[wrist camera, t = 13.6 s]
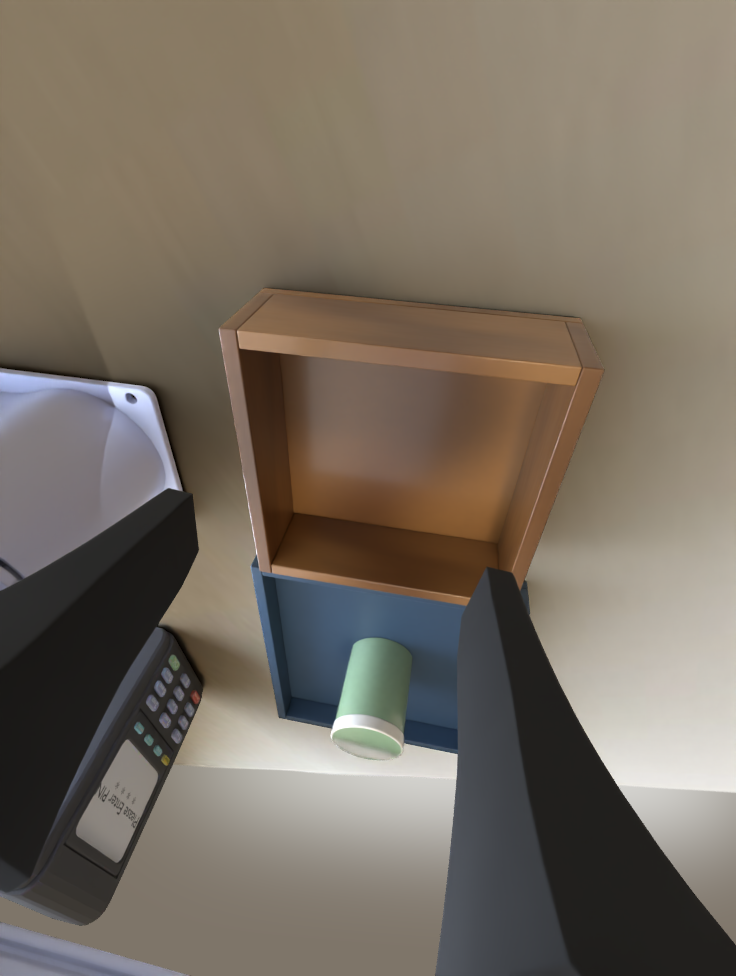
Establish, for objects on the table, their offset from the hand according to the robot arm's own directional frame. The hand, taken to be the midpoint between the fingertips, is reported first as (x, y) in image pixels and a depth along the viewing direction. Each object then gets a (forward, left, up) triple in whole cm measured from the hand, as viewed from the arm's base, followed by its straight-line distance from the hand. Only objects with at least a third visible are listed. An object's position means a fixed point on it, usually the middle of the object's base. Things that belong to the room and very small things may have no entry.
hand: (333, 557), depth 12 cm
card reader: (-15, -25, -10) cm, 31 cm away
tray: (+1, -19, -9) cm, 21 cm away
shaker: (+1, -19, -9) cm, 21 cm away
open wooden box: (+1, -2, -9) cm, 10 cm away
